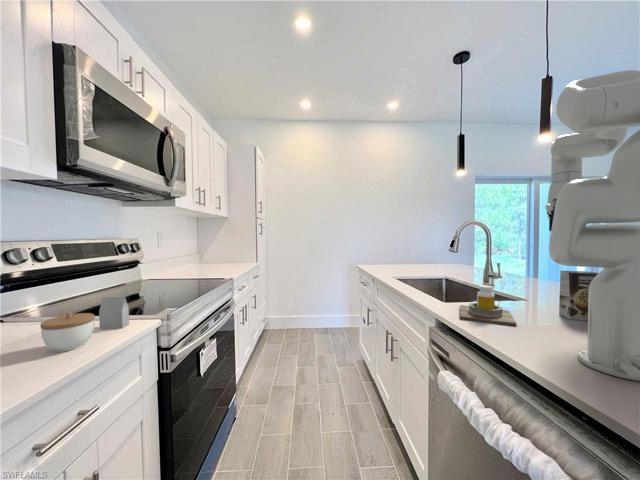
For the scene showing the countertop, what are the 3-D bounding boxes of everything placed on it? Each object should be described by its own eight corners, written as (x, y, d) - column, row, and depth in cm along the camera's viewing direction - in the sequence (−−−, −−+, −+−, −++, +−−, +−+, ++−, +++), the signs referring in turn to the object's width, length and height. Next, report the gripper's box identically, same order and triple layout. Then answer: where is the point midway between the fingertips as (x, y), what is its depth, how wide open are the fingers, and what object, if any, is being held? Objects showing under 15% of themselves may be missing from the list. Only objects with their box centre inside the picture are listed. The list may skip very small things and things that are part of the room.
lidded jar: (79, 353, 69) (78, 317, 69) (29, 358, 67) (27, 320, 67) (103, 337, 80) (102, 306, 79) (61, 341, 77) (60, 308, 77)
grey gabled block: (122, 328, 88) (121, 297, 87) (99, 329, 87) (98, 298, 86) (129, 324, 91) (128, 295, 91) (107, 325, 90) (106, 296, 90)
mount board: (516, 326, 86) (516, 315, 86) (460, 319, 94) (460, 309, 94) (508, 312, 100) (508, 303, 100) (460, 307, 108) (460, 299, 108)
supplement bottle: (497, 315, 94) (497, 288, 93) (480, 315, 95) (480, 287, 94) (490, 311, 99) (490, 285, 99) (474, 310, 100) (474, 284, 100)
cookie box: (570, 319, 92) (570, 272, 92) (558, 314, 98) (559, 270, 98) (602, 321, 90) (603, 273, 90) (588, 315, 96) (589, 270, 96)
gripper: (570, 182, 96) (569, 231, 96) (535, 180, 91) (534, 231, 91) (597, 178, 89) (596, 230, 89) (561, 175, 83) (560, 231, 84)
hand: (565, 231), depth 90 cm, fingers open, 9 cm apart
